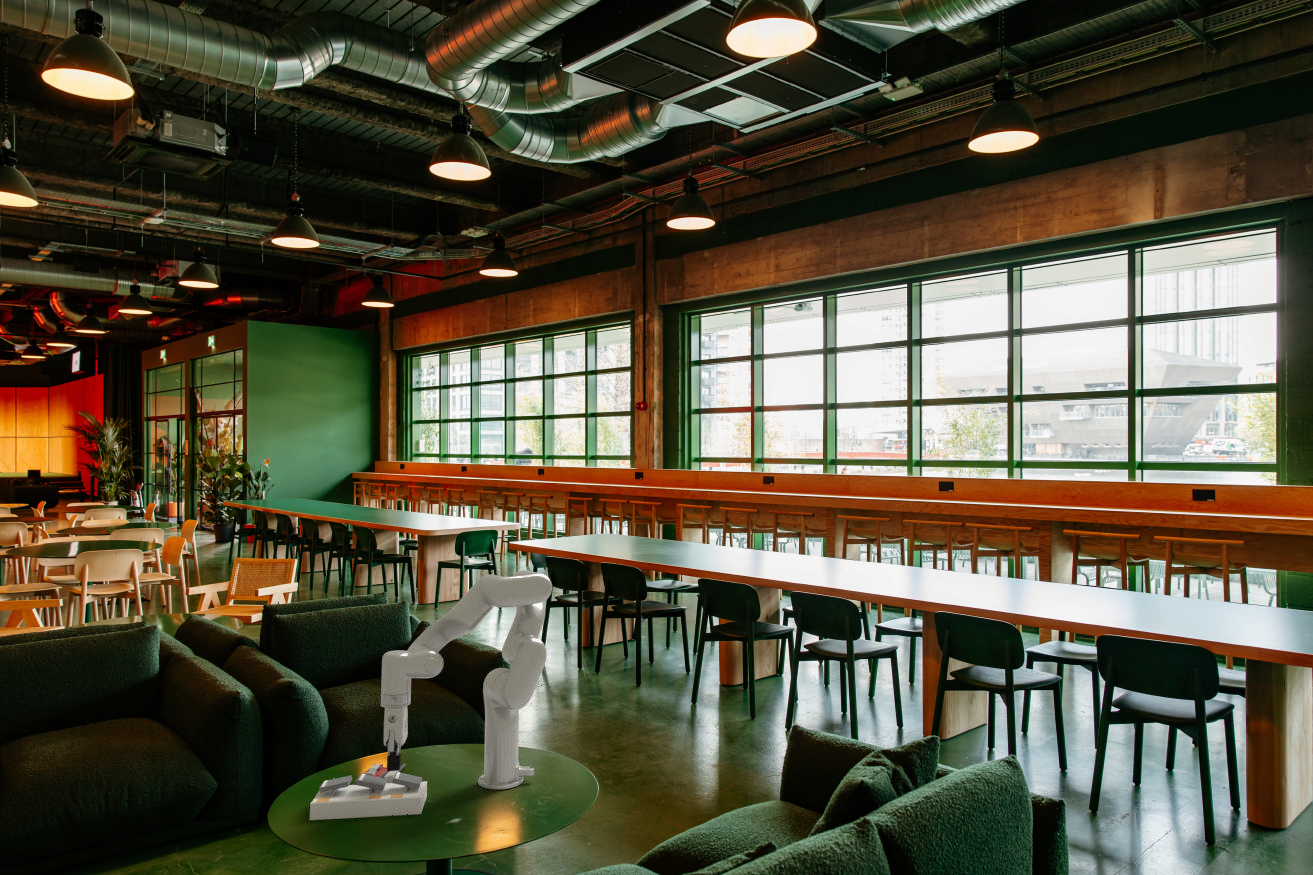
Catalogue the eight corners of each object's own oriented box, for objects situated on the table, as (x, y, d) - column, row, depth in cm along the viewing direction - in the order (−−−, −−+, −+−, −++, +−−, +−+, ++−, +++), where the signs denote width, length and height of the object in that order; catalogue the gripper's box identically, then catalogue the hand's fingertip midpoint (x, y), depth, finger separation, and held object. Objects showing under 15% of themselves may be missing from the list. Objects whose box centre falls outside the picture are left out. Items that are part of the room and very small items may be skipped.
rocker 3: (421, 781, 215) (422, 776, 215) (418, 788, 210) (420, 783, 210) (395, 776, 214) (396, 771, 214) (392, 782, 209) (393, 777, 209)
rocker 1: (352, 779, 212) (351, 774, 212) (348, 786, 207) (347, 781, 207) (324, 785, 211) (323, 780, 211) (319, 792, 206) (319, 787, 206)
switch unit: (426, 796, 217) (427, 775, 218) (420, 813, 206) (421, 792, 206) (321, 801, 213) (322, 780, 213) (309, 819, 201) (310, 797, 202)
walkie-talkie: (381, 793, 220) (408, 768, 240) (382, 777, 220) (408, 753, 240) (350, 792, 221) (379, 768, 240) (350, 776, 221) (380, 753, 241)
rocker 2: (386, 783, 214) (387, 778, 214) (382, 790, 209) (384, 785, 209) (359, 777, 213) (361, 772, 213) (355, 784, 208) (357, 779, 208)
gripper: (406, 705, 206) (404, 778, 205) (414, 691, 221) (412, 759, 220) (375, 706, 205) (373, 780, 204) (386, 692, 220) (383, 760, 219)
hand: (393, 769), depth 212 cm, fingers closed
